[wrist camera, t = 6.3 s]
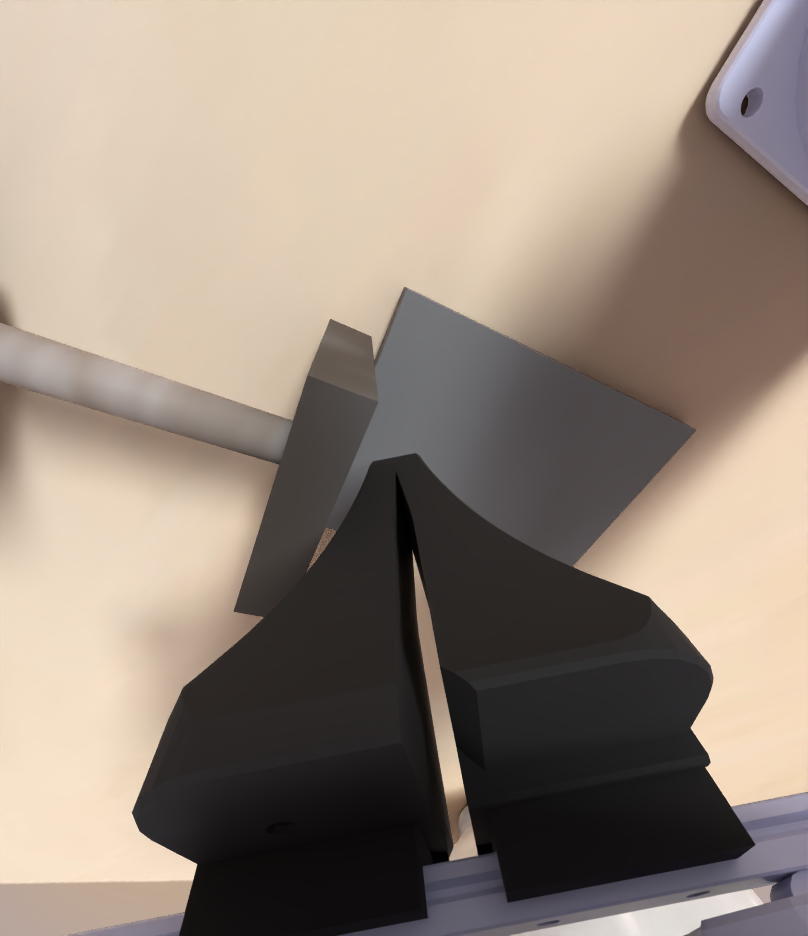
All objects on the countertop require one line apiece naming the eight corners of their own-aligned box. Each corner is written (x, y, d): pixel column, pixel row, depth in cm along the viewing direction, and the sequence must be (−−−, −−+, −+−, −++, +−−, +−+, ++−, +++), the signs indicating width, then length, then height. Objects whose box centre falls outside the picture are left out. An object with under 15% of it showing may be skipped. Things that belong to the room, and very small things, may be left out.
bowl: (549, 687, 24) (744, 1149, 12) (753, 761, 37) (951, 1024, 24) (309, 843, 36) (282, 1154, 24) (524, 859, 49) (580, 1069, 36)
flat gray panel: (684, 423, 14) (696, 430, 14) (549, 576, 18) (554, 586, 18) (404, 286, 11) (406, 288, 10) (314, 514, 15) (312, 524, 14)
